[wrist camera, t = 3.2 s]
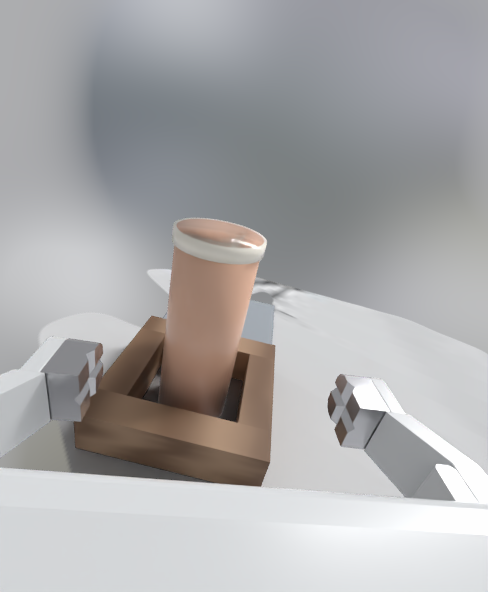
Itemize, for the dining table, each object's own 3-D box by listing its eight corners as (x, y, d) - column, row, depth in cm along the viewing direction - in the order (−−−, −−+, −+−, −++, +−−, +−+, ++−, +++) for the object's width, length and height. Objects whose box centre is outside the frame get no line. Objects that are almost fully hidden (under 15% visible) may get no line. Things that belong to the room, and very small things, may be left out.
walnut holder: (75, 447, 22) (73, 413, 20) (149, 342, 34) (151, 315, 33) (258, 493, 22) (269, 462, 20) (267, 370, 34) (275, 345, 32)
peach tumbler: (226, 434, 26) (272, 256, 18) (148, 427, 25) (165, 237, 18) (226, 364, 33) (258, 220, 26) (166, 357, 32) (184, 206, 25)
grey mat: (158, 326, 37) (158, 323, 37) (186, 286, 48) (186, 284, 48) (270, 353, 37) (271, 351, 37) (273, 307, 48) (274, 305, 47)
